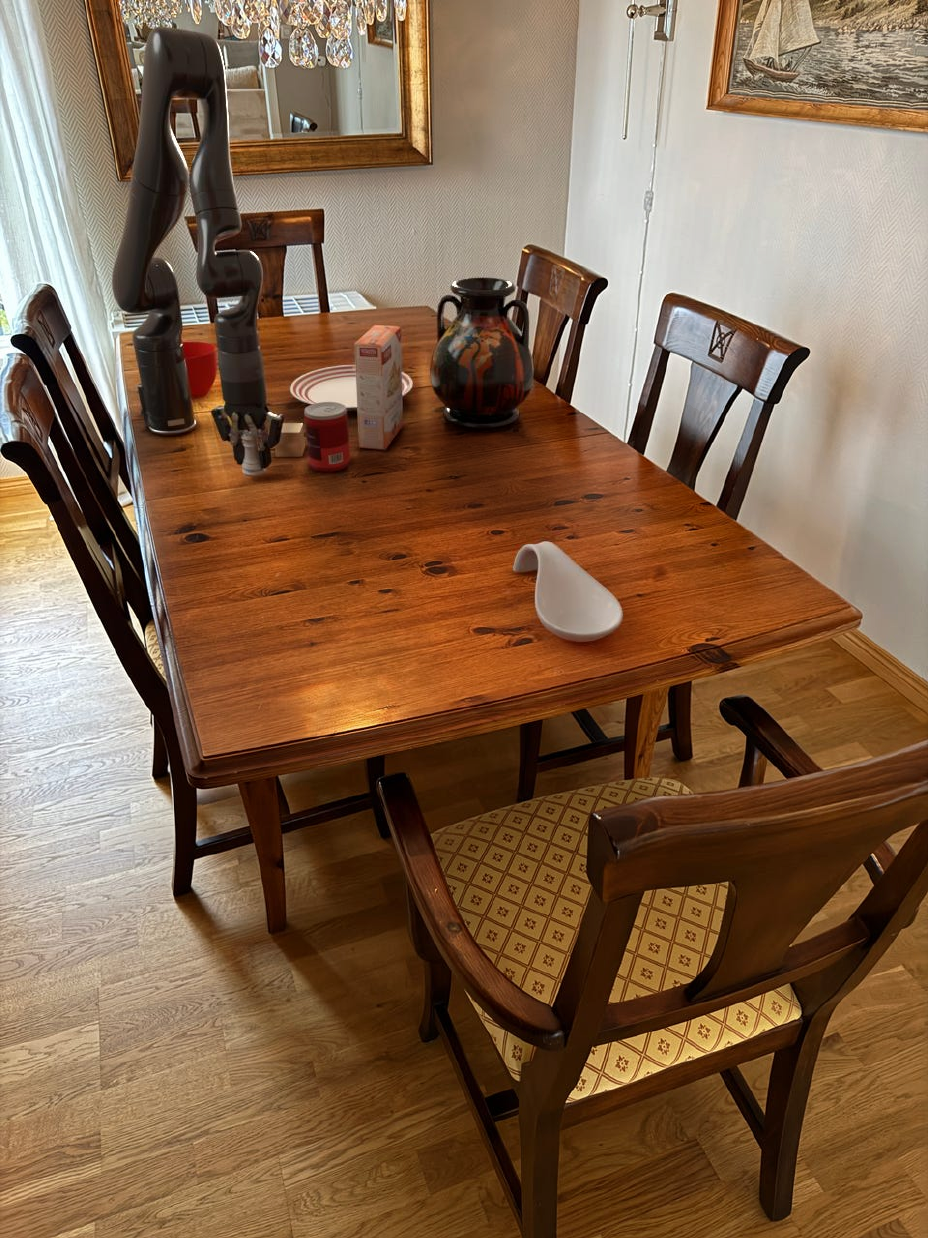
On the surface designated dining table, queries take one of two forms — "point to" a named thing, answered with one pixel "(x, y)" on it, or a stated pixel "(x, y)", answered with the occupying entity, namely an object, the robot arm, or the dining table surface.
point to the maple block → (291, 441)
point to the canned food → (327, 436)
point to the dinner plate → (334, 386)
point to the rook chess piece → (251, 456)
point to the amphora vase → (482, 357)
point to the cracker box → (379, 386)
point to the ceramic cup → (200, 366)
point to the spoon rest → (568, 595)
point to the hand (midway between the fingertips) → (253, 464)
